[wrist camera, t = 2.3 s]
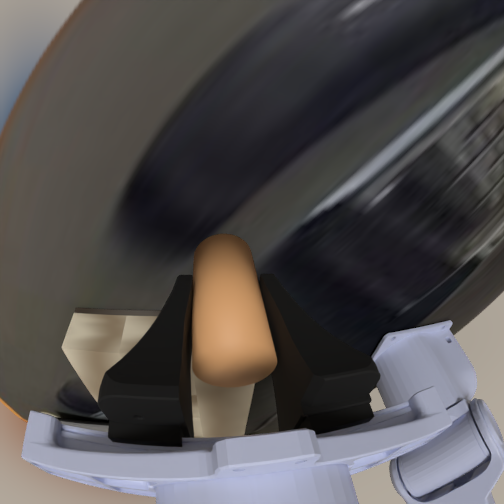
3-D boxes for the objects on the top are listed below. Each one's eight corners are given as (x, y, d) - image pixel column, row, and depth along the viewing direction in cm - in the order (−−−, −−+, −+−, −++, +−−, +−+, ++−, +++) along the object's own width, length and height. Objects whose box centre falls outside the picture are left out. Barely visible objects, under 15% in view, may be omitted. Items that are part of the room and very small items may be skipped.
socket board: (252, 309, 18) (261, 352, 16) (237, 424, 30) (240, 450, 27) (76, 307, 16) (61, 347, 14) (137, 423, 28) (135, 449, 25)
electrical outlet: (144, 414, 28) (146, 431, 27) (148, 440, 34) (150, 454, 32) (44, 406, 24) (43, 422, 22) (67, 435, 29) (67, 448, 27)
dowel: (254, 233, 15) (283, 338, 10) (249, 280, 17) (270, 384, 11) (193, 233, 15) (189, 342, 9) (194, 281, 17) (195, 388, 11)
